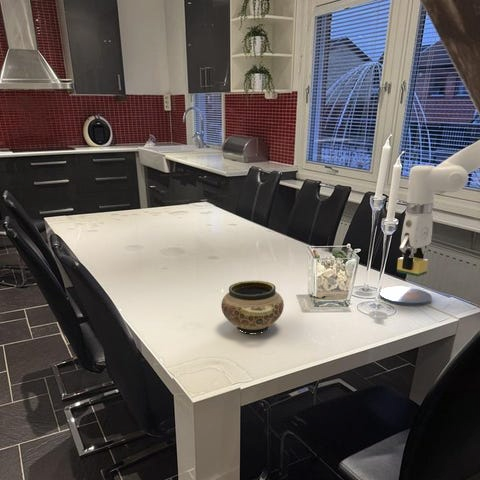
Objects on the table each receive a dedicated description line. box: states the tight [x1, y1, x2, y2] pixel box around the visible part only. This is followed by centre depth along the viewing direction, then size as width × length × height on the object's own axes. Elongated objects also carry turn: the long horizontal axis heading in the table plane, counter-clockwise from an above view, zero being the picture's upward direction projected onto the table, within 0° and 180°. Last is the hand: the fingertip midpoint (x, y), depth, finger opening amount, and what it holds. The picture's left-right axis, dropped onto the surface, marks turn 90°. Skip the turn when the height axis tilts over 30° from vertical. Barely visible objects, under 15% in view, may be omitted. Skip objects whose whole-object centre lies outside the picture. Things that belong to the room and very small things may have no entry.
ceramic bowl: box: [220, 280, 285, 334], centre depth 135 cm, size 24×18×15 cm
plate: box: [379, 286, 433, 307], centre depth 161 cm, size 17×17×1 cm
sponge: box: [396, 256, 429, 277], centre depth 146 cm, size 8×5×4 cm, turn 39°
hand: (412, 267), depth 146 cm, fingers closed on sponge, 5 cm apart
